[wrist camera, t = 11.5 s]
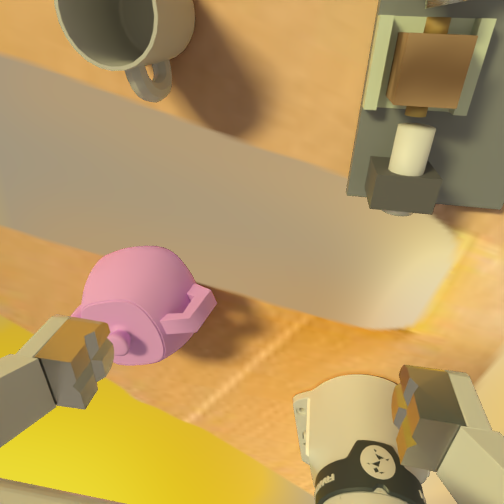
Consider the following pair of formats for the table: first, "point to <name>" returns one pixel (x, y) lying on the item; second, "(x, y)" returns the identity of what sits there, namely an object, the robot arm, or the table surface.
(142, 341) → the teapot
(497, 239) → the table surface
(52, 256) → the table surface
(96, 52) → the cup
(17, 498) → the robot arm
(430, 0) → the shaft right
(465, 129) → the bench
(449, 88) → the coupler
